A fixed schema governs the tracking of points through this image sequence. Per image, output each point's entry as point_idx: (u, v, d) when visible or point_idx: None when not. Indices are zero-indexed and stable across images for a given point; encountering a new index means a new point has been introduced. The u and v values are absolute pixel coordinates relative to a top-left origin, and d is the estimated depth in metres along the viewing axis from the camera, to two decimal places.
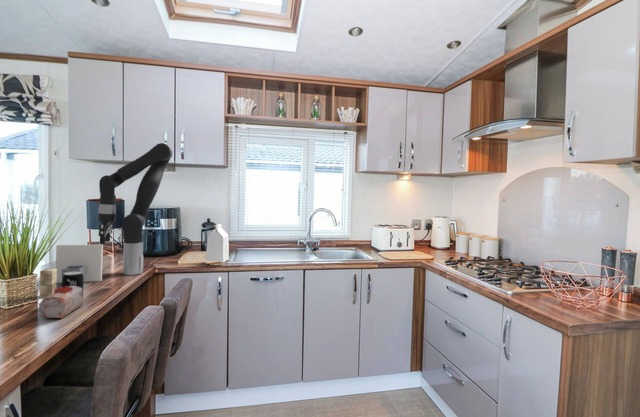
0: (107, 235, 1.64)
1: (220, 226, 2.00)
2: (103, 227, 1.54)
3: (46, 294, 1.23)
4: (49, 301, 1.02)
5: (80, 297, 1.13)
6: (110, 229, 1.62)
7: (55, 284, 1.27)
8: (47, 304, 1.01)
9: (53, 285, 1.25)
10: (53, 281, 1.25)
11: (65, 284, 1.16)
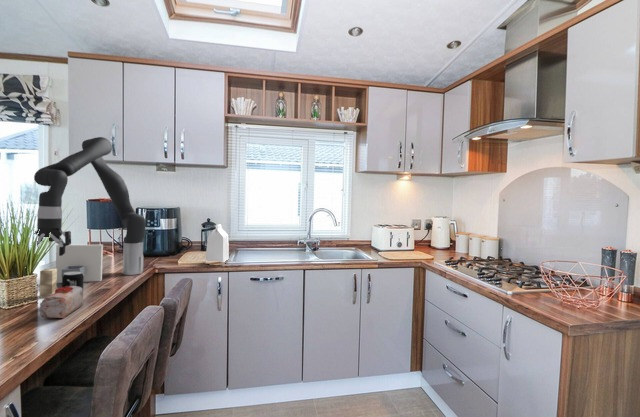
0: None
1: (220, 226, 2.00)
2: (70, 234, 1.27)
3: (46, 294, 1.23)
4: (50, 301, 1.02)
5: (80, 297, 1.13)
6: None
7: (55, 284, 1.27)
8: (48, 304, 1.02)
9: (53, 285, 1.25)
10: (54, 281, 1.25)
11: (65, 284, 1.16)
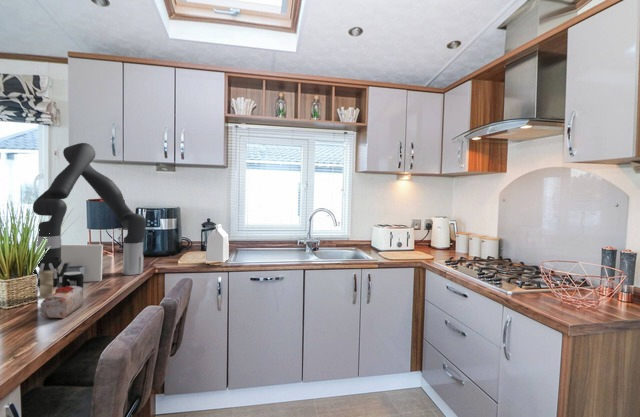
0: None
1: (220, 226, 2.00)
2: None
3: (46, 294, 1.23)
4: (51, 301, 1.02)
5: (81, 297, 1.13)
6: None
7: None
8: (49, 304, 1.02)
9: None
10: None
11: (65, 284, 1.16)
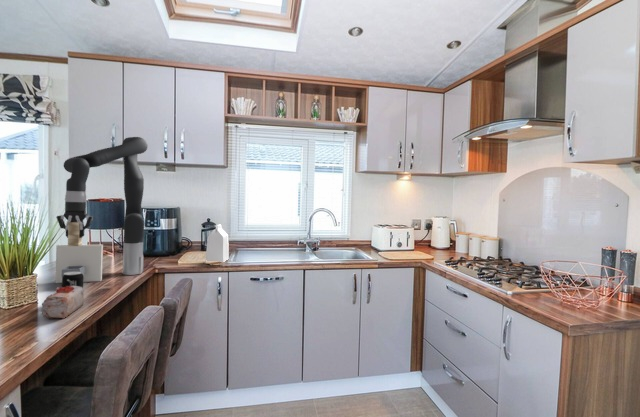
0: None
1: (220, 226, 2.00)
2: (92, 219, 1.41)
3: (73, 243, 1.37)
4: (52, 301, 1.02)
5: (81, 297, 1.13)
6: None
7: None
8: (50, 304, 1.02)
9: None
10: None
11: (65, 284, 1.16)
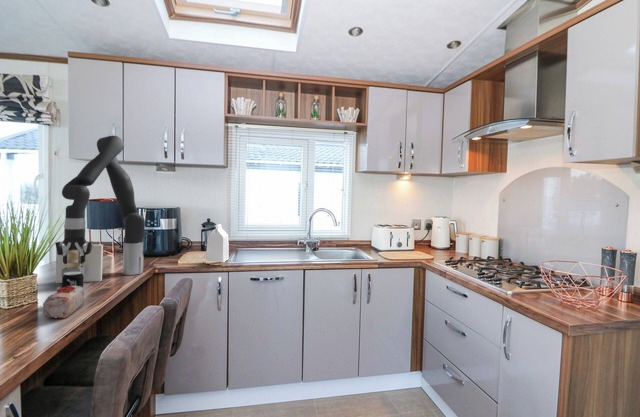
0: None
1: (220, 226, 2.00)
2: (92, 244, 1.42)
3: None
4: (53, 301, 1.02)
5: (82, 297, 1.13)
6: None
7: None
8: (51, 304, 1.02)
9: (78, 263, 1.39)
10: (79, 259, 1.39)
11: (65, 284, 1.16)
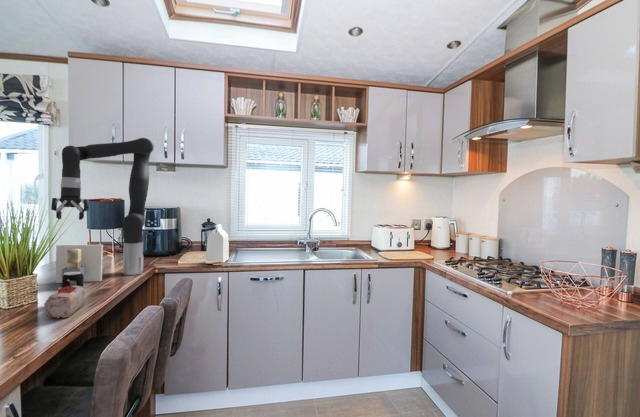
0: (60, 212, 1.46)
1: (220, 226, 2.00)
2: (87, 201, 1.50)
3: None
4: (55, 301, 1.02)
5: (83, 296, 1.14)
6: None
7: (80, 263, 1.41)
8: (53, 304, 1.02)
9: (78, 263, 1.39)
10: (79, 259, 1.39)
11: (65, 284, 1.16)
